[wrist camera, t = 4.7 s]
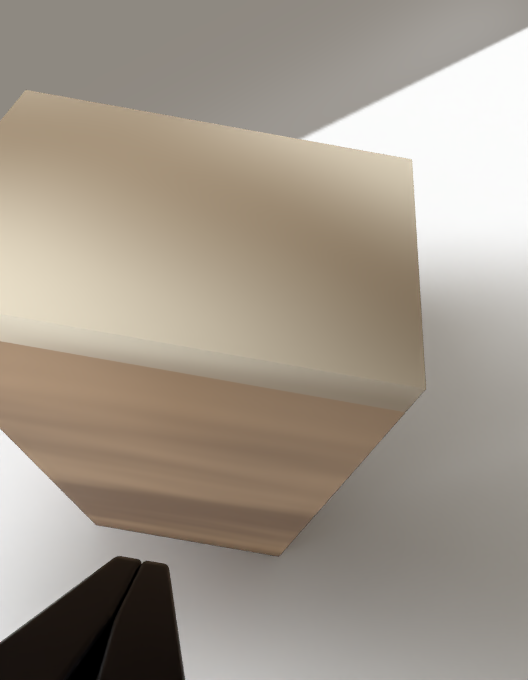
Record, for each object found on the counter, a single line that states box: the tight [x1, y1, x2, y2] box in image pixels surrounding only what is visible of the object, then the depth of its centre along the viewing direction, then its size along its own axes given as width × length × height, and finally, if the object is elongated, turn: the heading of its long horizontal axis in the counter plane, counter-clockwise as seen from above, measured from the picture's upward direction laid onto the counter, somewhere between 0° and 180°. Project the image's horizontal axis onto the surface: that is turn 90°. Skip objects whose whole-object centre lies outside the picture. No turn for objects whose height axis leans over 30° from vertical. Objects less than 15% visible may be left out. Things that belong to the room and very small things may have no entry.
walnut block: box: [0, 90, 426, 556], centre depth 11 cm, size 4×6×12 cm, turn 82°
